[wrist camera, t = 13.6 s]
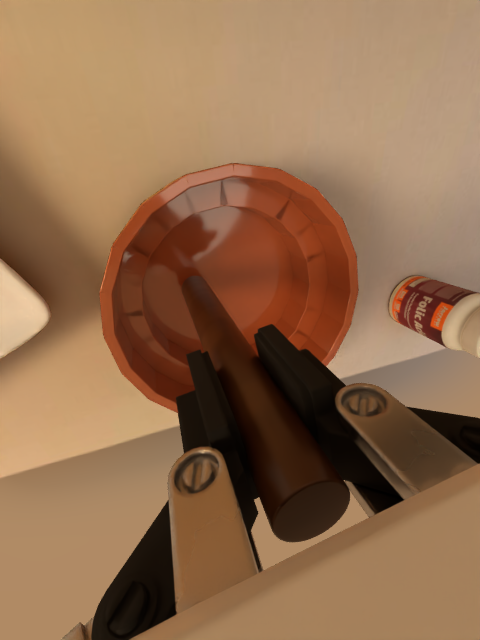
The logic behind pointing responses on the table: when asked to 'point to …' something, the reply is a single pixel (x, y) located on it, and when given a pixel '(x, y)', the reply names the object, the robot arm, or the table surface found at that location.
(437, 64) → the table surface
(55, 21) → the table surface
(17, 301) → the salad plate
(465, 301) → the pill bottle
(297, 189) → the bowl
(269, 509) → the stick
